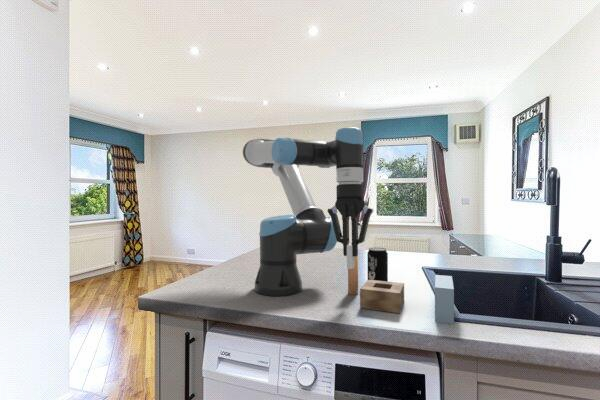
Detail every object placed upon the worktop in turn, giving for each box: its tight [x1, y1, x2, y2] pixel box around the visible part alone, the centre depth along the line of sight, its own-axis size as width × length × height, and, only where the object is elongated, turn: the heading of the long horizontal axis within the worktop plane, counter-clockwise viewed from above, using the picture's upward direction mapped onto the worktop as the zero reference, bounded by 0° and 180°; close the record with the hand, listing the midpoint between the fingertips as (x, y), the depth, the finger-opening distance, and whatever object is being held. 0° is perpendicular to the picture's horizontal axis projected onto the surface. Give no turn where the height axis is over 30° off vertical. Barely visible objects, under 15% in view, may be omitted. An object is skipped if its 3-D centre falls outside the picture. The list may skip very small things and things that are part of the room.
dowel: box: [347, 254, 359, 296], centre depth 94 cm, size 3×3×12 cm
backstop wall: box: [434, 274, 455, 325], centre depth 77 cm, size 4×13×8 cm, turn 156°
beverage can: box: [367, 247, 389, 282], centre depth 104 cm, size 7×7×12 cm
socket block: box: [359, 279, 405, 314], centre depth 84 cm, size 10×10×5 cm
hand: (350, 267), depth 87 cm, fingers closed
